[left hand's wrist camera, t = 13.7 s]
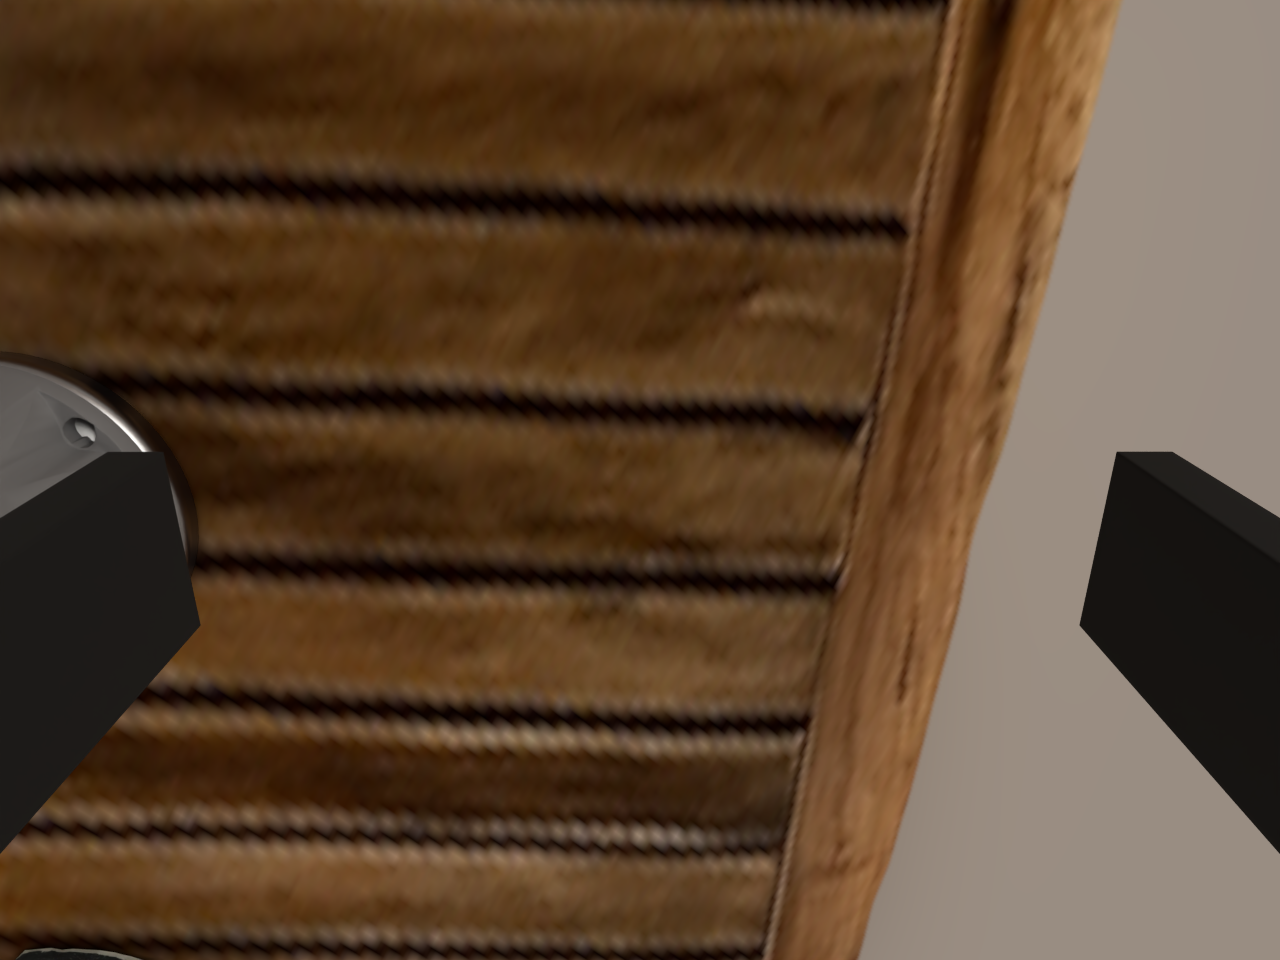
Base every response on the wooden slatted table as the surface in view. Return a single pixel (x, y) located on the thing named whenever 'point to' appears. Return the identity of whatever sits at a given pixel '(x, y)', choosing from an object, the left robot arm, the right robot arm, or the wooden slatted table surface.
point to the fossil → (71, 955)
